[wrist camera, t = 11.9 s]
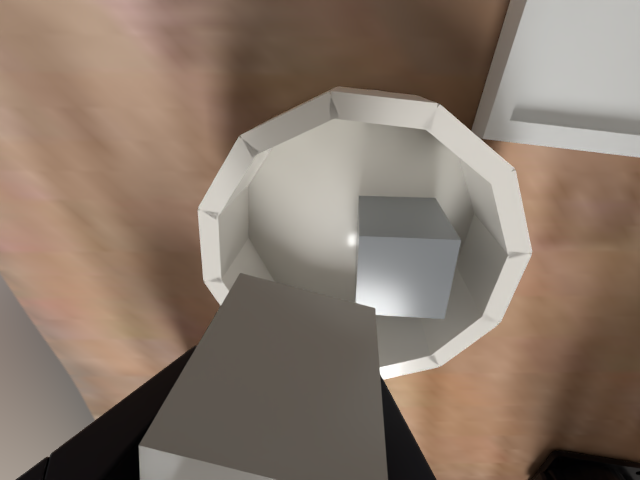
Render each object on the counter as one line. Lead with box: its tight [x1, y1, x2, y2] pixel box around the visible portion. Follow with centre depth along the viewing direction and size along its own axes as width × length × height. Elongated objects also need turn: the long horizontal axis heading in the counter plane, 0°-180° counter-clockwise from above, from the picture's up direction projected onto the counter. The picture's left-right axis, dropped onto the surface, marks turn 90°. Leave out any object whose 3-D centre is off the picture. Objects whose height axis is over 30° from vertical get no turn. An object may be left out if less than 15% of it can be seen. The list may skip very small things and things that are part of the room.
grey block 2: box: [355, 196, 461, 319], centre depth 15 cm, size 4×4×4 cm
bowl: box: [198, 86, 532, 379], centre depth 15 cm, size 13×13×5 cm
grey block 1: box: [139, 273, 388, 480], centre depth 7 cm, size 4×4×4 cm
